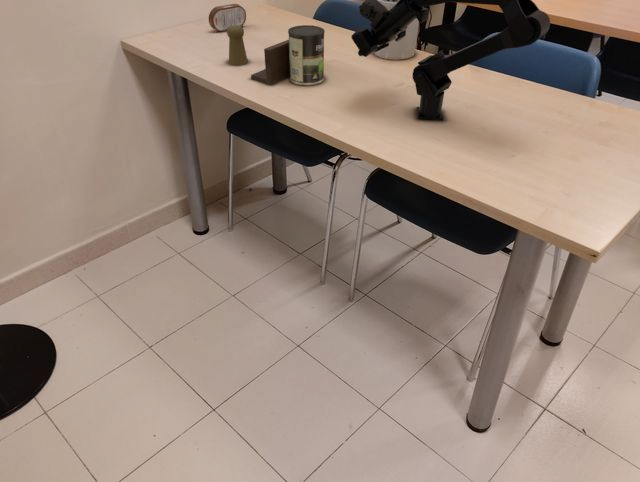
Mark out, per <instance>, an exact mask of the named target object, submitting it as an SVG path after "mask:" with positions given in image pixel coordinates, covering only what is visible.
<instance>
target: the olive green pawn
mask: <svg viewBox="0 0 640 482" xmlns="http://www.w3.org/2000/svg"><path fill="white" fill-rule="evenodd" d="M226 34H227V37H228V38H229V40H228V43H229V44H228V45H229V46H228V64H229V65H231V66H244V65H247V64H248V63H249V61H248V56H247V51H246V47H245V43H244V36H245V31H244V28H243V26H242V27H241V26H237V25H234V26H230V27H228V29H227V31H226Z"/></svg>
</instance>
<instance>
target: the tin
mask: <svg viewBox="0 0 640 482" xmlns="http://www.w3.org/2000/svg"><path fill="white" fill-rule="evenodd" d="M246 20H247V11H246V9H245V8H244V7H243V6H241V5H240V4H238V3H229V4H225V5H217V6H214V7H213V8H212V9H211V10H210V11H209V14H208V23H209V26H210V28H211V29H213V30H215V31H217V32H227V29H228V27H230V26H234V25H237V26H241V27H242V28H243V26H244V25H245V23H246Z"/></svg>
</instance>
